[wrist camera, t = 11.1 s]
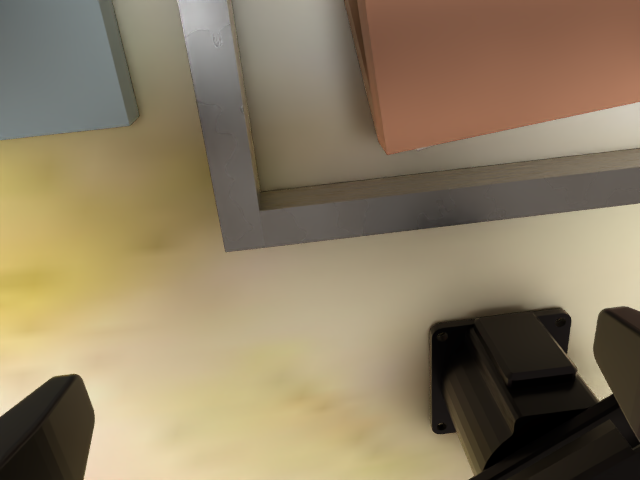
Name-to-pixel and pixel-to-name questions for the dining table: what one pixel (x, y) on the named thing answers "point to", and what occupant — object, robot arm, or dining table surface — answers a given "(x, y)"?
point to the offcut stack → (490, 64)
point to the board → (62, 68)
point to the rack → (374, 194)
